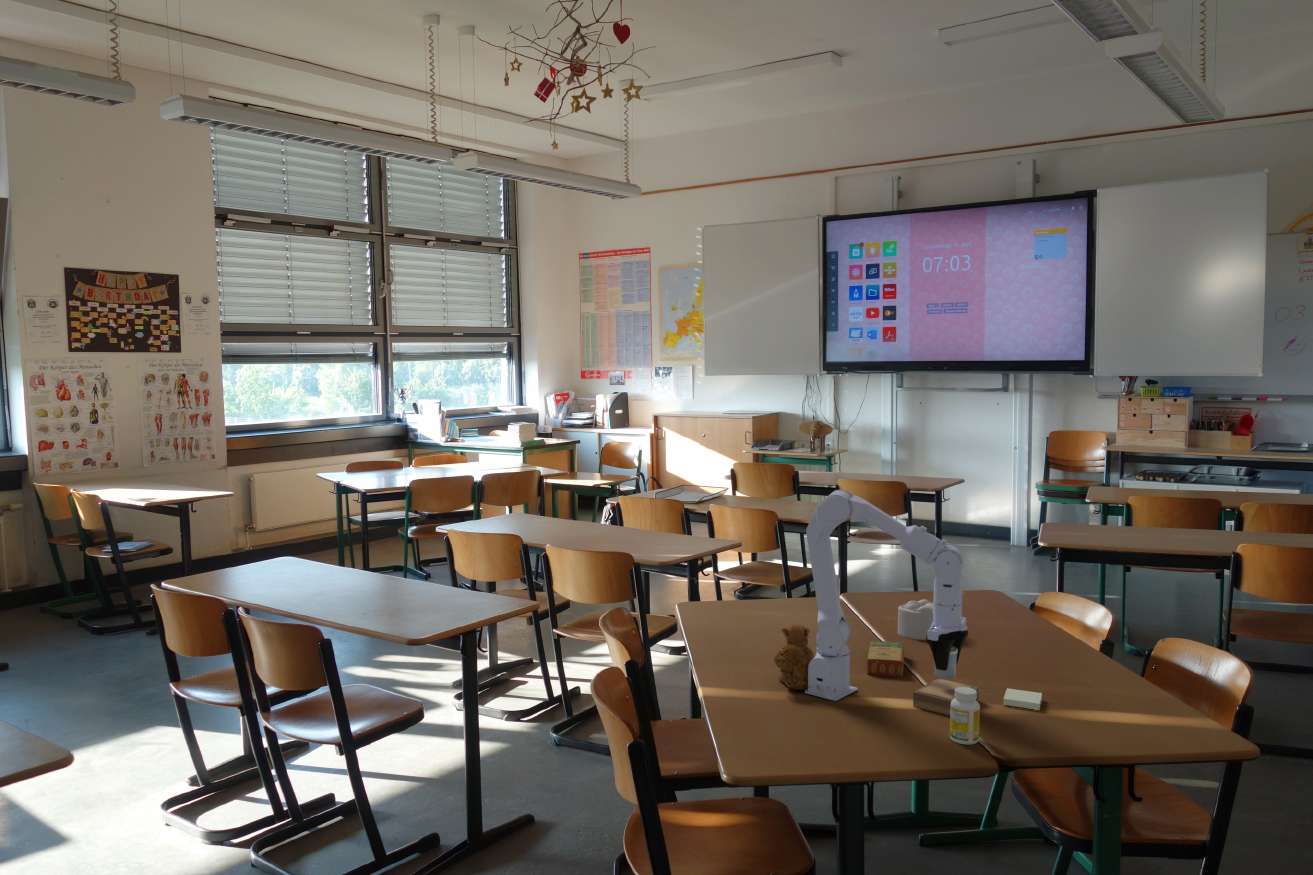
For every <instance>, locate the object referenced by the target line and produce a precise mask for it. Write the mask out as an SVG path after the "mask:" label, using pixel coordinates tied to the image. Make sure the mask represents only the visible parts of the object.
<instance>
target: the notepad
mask: <svg viewBox="0 0 1313 875" xmlns="http://www.w3.org/2000/svg"><path fill="white" fill-rule="evenodd" d="M1042 697H1043V693H1042V692H1036V691H1029V690H1021V689H1015V688H1008V687H1007V688H1006V690H1005V693H1004V695H1003V699H1002V700H1003V701H1002V702H1003V704H1002V705H1010V706H1017V707H1024V708H1029V709H1034V710H1033V711H1036V710H1039V711H1040V709H1041V706H1040V705H1042V701H1043V699H1042ZM1029 709H1028V710H1029Z"/></svg>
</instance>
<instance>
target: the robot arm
mask: <svg viewBox="0 0 1313 875" xmlns="http://www.w3.org/2000/svg"><path fill="white" fill-rule="evenodd" d="M849 517H850V520H849V522H850V523H859V522H860V523H861V522H865V523H868V524H870V525H871V526H874V527H875V528H877V529H879V530H881V531H882V532H885V533H886V534H888V535H890V536H892V537H893V538H895V539H898V542H899V545H900V548H901V549H902V550H903V551H905V552H907V553H910V554H911V555H913V556H914V557H916V558H918V559H919V560H920V561H923V562H924V563H926V564H927V565H932V566H933V569H934V574H935V575H934V576H935V577H934V581H933V602H934V603H933V622H932V625H931V627H930V629H929V630H928V634H927V635H926V640H925V641H926V642H927V644H928V646H929V648H930V650H931V653H932V656H933V661H934V662H935V666H936V669H938V670H943V671H946V670H947V668H948V662H949V655H950V651H951V647H952V646H954V647H956V648H957V649H958V653H957V659H956V666H957V665H958V664H959V660H960V655H961V652H962V648H963V646H964V643H965V641H966V640H967V637H968V636H969V631H968V626H967V617H965V616H963V580H962V579H963V573H962V570H963V567H964V563H963V562H964V556H963V553H962V551H961V550H960V549H959V547H957V545H955V544H954V543H951V542H949V543H948V540H946V539H945V538H942V539H940V538H939V537H937V536H935V535H933V534H931V533H930V532H928V531H927V530H928V528H927V527H925V526H924V525H921V526H918V525H915V524H914V525H913V524H912V525H910V526H906V525H905V524H903V523H901V522H900V521H898V519H895V518H894V517H892V516H891V515H890V514H887V512H884V511H883V510H881V509H880V508H878V507H877V506H876V505H874V504H872V503H871V502H869V501H867V500H865V499H864V498H862V497H860V496H858V495H856V494H854V495H853V493H851V492H850V491H848V490H846V489H837V490H836V489H835V490H834V491H832V492H831V493H830V494H829V495H827V496H826V497H824V498H823V499H822V500H821V501H820V502H819V503H818V504H817V505H816V507H815V510H814V512H813V515H812V516H811V519H810V520H809V523H808V525H807V527H806V529H805V530H806V531H805V532H806V540H807V546H808V552H809V558H810V566H811V573H812V578H813V585H814V590H815V598H816V604H817V610H818V611H817V619H816V620H817V633H816V636H815V643H816V653H815V655H814V658H813V659H812V660H811V661H810V663H809V666H808V686H807V688H806V690H804V693H805V694H806V695H807V694H808V695H811V696H815V697H817V698H818V697H819V698H823V699H827V700H829V701H834V702H836V701H838V700H841V699H843V698H845V697H847V696H848V695H850V694H853V693H854V692H856V691H858V687H856V686H851V684H850V681H851V679H850V677H851V676H850V675H851V671H850V669H851V664H850V663H851V659H850V658H851V650H850V647H849V646H848V645H847V641H849V639H850V636H851V633H852V632H851V626H850V624H849V622H848V621H847V620H846V617H845V614H844V610H843V607H842V605H841V601H840V595H839V594H840V593H839V589H838V588H839V587H838V581H837V580H838V579H837V575H836V570H835V569H836V568H835V563H834V561H835V560H834V557H833V556H834V555H833V549H832V548H833V547H832V543H831V537H830V536H831V534H832V532H833V531H834V530H835V529H836V528H837V526H839V525H841V524H842V523H844V522H845V521H846V520H847V519H848V518H849Z"/></svg>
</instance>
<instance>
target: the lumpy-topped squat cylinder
mask: <svg viewBox="0 0 1313 875" xmlns="http://www.w3.org/2000/svg"><path fill="white" fill-rule="evenodd" d="M933 603H934V601H933V602H931V601H930V600H929V599H925V598H924V599H920V600H918V601H917V600H909V601H908V602H906V603H905V604H901V605H899V606H898V607H897V611H898V612H897V634H898V635H899V634H900V635H899V636H901V637H904V638H907V639H912V640H918V641H919V640H920V641H926V635H927V634H928V630H929V629H930V627H931V625H932V622H933Z"/></svg>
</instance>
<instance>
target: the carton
mask: <svg viewBox="0 0 1313 875" xmlns="http://www.w3.org/2000/svg"><path fill="white" fill-rule="evenodd" d="M904 664H905V644H904V642H902V641H889V640H888V641H887V640H870V642H869V648H868V654H867V660H866V671H867V672H866V675H869V676H881V677H882V676H883V677H894V678H895V677H896V678H903V677H904Z"/></svg>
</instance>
